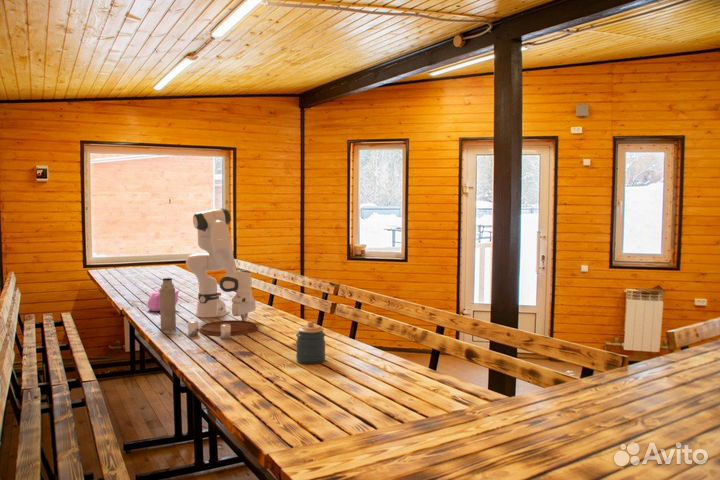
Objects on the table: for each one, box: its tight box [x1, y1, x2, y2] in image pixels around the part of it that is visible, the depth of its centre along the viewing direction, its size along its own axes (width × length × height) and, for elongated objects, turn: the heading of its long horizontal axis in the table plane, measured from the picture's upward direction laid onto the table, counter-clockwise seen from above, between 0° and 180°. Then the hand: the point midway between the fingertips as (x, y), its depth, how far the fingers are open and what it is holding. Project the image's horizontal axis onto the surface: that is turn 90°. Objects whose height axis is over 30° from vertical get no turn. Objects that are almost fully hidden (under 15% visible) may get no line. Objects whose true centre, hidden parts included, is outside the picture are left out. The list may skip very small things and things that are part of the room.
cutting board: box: [198, 319, 259, 337], centre depth 309 cm, size 32×32×3 cm
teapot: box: [146, 288, 181, 312], centre depth 366 cm, size 22×22×14 cm
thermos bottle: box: [159, 277, 177, 330], centre depth 312 cm, size 8×8×28 cm
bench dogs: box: [187, 320, 232, 340], centre depth 292 cm, size 5×25×7 cm, turn 70°
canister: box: [295, 321, 327, 365], centre depth 246 cm, size 13×13×18 cm
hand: (244, 321), depth 324 cm, fingers closed
